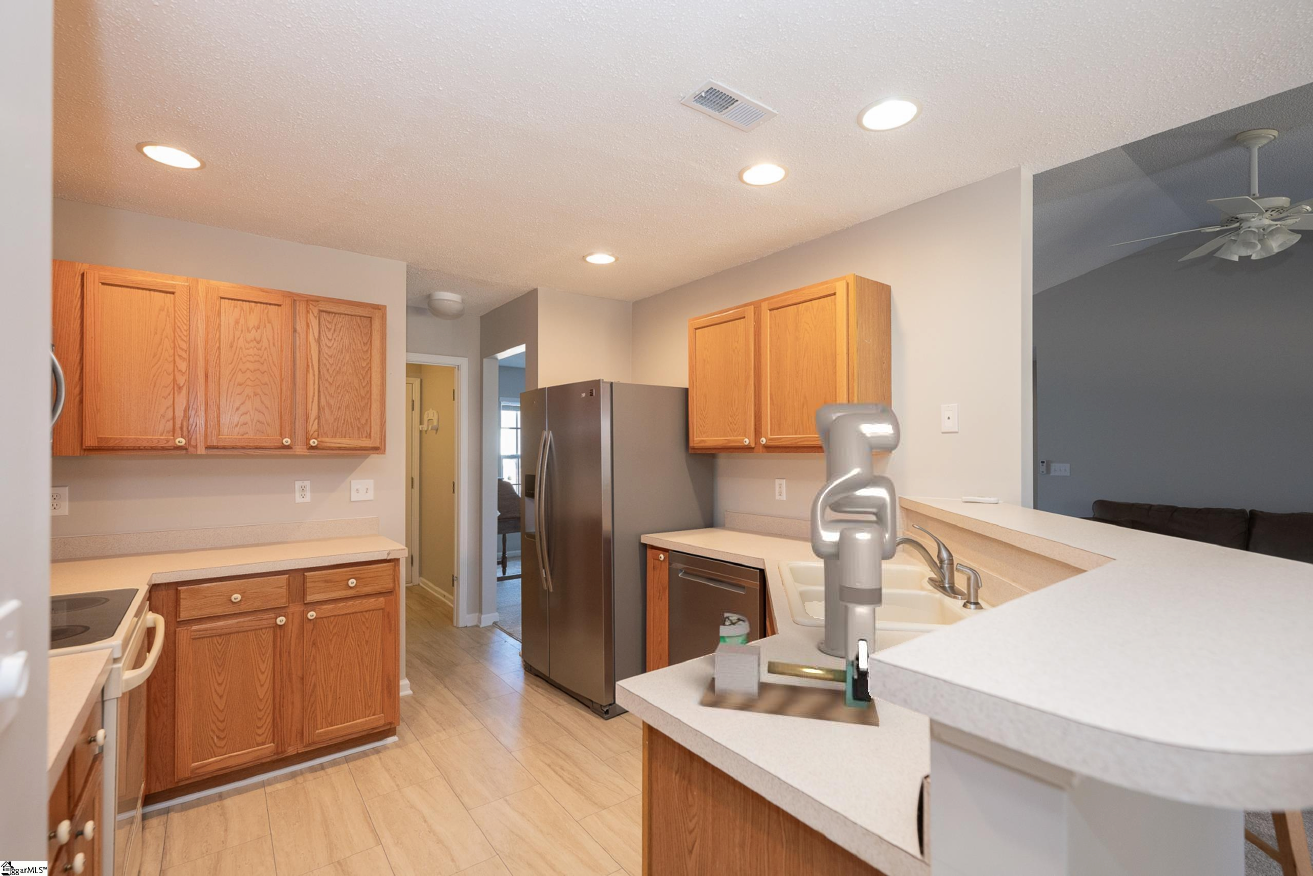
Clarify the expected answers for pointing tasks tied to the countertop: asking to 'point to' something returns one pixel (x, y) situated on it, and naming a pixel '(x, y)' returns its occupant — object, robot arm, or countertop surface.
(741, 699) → the walnut board
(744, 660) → the block
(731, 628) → the food container
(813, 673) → the brass rod with block
